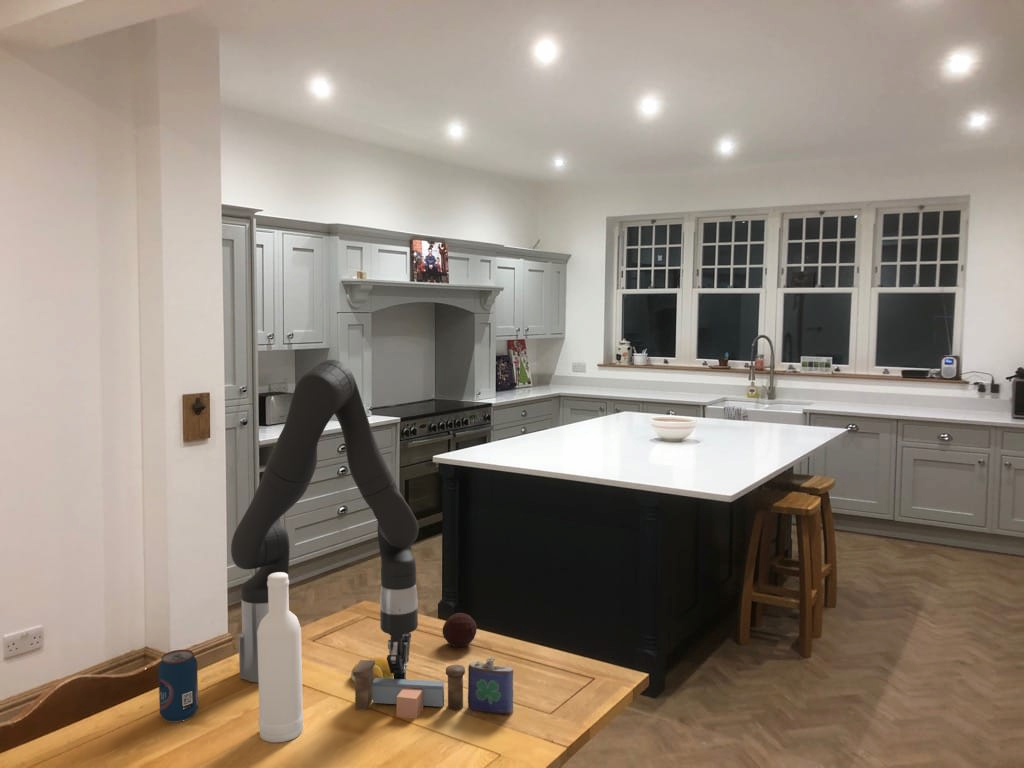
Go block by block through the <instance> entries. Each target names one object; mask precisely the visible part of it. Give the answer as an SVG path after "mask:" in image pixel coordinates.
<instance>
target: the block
mask: <svg viewBox="0 0 1024 768" xmlns="http://www.w3.org/2000/svg"><path fill="white" fill-rule="evenodd" d="M423 710H424V706H423V689H413V688H403V689H402V690H401V692H400V693H399V694H398V696H397V704H396V717H400V718H408V719H409V718H410V719H417V718H418V717H419V716H420V714H421V712H422V711H423Z"/></svg>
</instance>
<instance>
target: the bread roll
mask: <svg viewBox="0 0 1024 768" xmlns="http://www.w3.org/2000/svg"><path fill="white" fill-rule="evenodd" d="M369 660H375V665H374V667H373V681H374V680H375V678H389V679H394V673H391V672H390V669H389V665H388V662H387V658H384V657H376V658H372V659H369ZM357 665H358V663H357V664H355V665H354V666H353V667H352V669H351V673H350V677H351V680H352V681H353V682H354V683H355V676H353V671H354V670H355V668H356V666H357Z"/></svg>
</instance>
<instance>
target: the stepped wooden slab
mask: <svg viewBox="0 0 1024 768" xmlns="http://www.w3.org/2000/svg"><path fill="white" fill-rule="evenodd" d="M357 664H358V665H357V666H356V668H355V670H354V671H353V676H355V682H354V692H355V693H354V695H355V702H354V703H355V710H356V711H369V710H368V709H369V708H370V706H371V704H372V703H373V667H374V665H375V660H370V659H365V660H364V659H360V660H359V661H358V663H357Z"/></svg>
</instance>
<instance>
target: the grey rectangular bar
mask: <svg viewBox="0 0 1024 768" xmlns="http://www.w3.org/2000/svg"><path fill="white" fill-rule="evenodd" d="M403 688H413V689H423V707H425V706H427V707H444V706H445V681H442V680H427V679H426V680H425V679H410V678H409V679H407V678H406V679H394V678H392V679H389V678H375V680H374V681H373V700H372V703H373V704H389V705H392V704H393V705H397V696H398V694H399V693H400V692H401V690H402V689H403Z"/></svg>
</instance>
